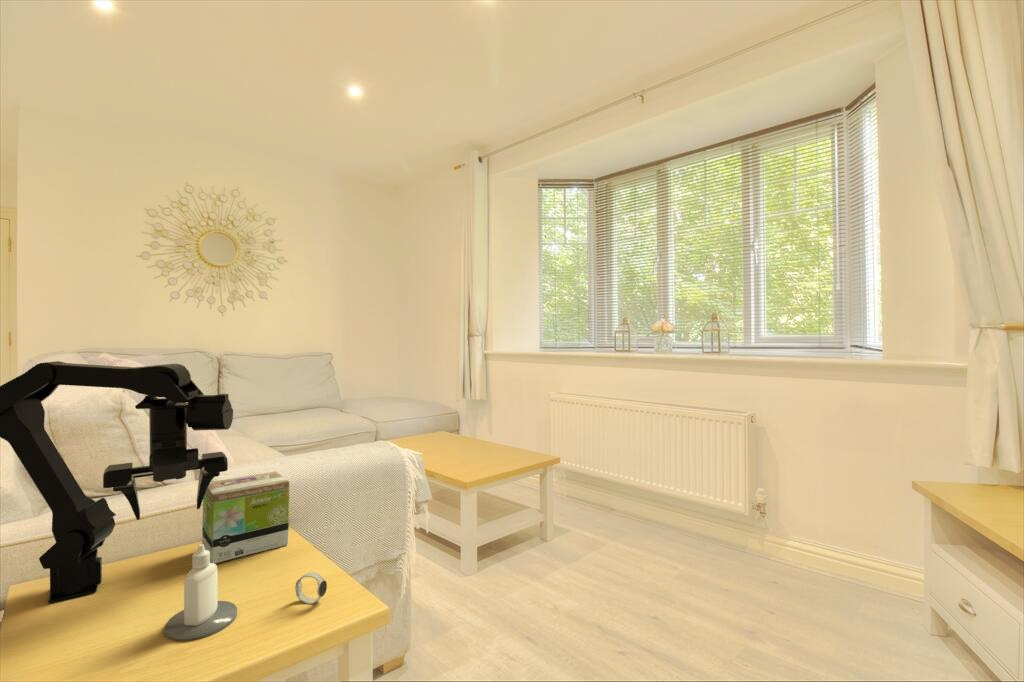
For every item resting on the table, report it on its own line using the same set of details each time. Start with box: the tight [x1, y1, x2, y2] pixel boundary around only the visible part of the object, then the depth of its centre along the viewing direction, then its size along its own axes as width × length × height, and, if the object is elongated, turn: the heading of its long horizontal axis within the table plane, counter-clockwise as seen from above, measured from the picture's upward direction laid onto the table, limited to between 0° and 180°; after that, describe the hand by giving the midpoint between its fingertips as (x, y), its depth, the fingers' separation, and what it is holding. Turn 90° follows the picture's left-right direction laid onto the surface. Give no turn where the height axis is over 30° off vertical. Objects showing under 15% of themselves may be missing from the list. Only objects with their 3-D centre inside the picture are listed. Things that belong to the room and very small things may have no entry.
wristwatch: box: [294, 571, 328, 605], centre depth 87 cm, size 3×5×5 cm, turn 81°
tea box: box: [201, 471, 290, 565], centre depth 107 cm, size 15×10×15 cm, turn 132°
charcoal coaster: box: [164, 600, 238, 642], centre depth 80 cm, size 10×10×1 cm
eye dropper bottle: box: [183, 543, 219, 626], centre depth 80 cm, size 4×6×12 cm
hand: (169, 513), depth 92 cm, fingers open, 9 cm apart
